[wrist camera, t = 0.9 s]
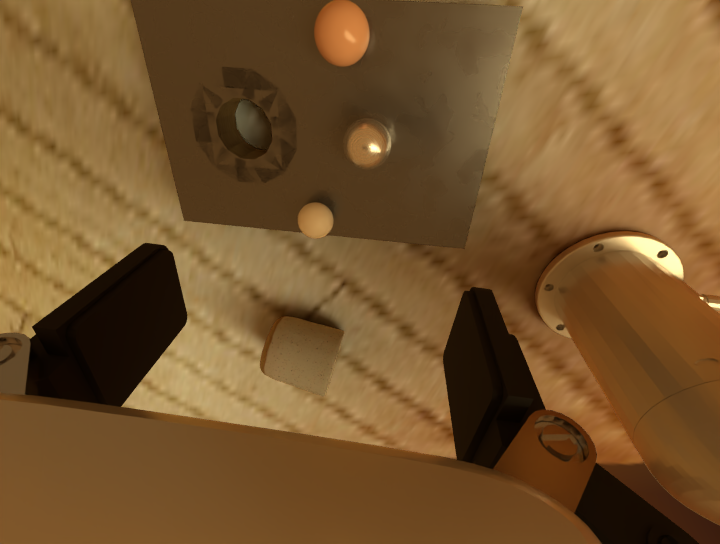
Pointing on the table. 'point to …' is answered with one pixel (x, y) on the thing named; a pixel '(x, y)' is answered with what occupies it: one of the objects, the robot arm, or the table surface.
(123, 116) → the table surface
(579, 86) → the table surface
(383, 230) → the grey metal slab
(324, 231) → the cream ball
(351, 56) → the terracotta ball
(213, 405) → the table surface
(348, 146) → the steel ball
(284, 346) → the ceramic mug
